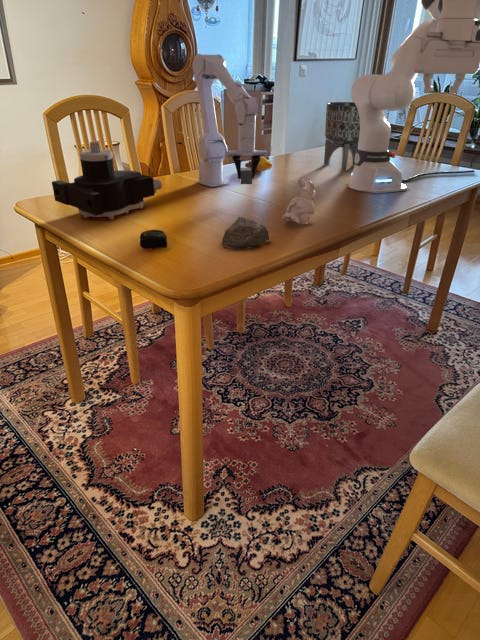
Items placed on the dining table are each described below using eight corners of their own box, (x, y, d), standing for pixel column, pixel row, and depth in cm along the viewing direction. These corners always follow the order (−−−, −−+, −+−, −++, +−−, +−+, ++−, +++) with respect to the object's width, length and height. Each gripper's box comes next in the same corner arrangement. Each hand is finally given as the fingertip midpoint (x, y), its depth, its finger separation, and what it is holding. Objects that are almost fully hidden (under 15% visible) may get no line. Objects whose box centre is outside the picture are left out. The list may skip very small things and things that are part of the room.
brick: (240, 184, 160) (240, 170, 158) (239, 181, 164) (239, 167, 161) (252, 184, 160) (252, 170, 158) (250, 181, 164) (250, 167, 162)
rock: (255, 233, 128) (256, 211, 124) (276, 242, 122) (278, 219, 119) (217, 244, 120) (217, 220, 117) (239, 254, 115) (239, 230, 111)
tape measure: (140, 252, 115) (139, 238, 113) (141, 242, 120) (140, 229, 119) (167, 251, 116) (166, 237, 114) (167, 241, 121) (166, 228, 120)
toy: (243, 164, 194) (247, 156, 207) (248, 178, 197) (252, 170, 210) (268, 155, 191) (270, 148, 204) (272, 170, 194) (275, 162, 206)
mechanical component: (44, 141, 131) (128, 131, 151) (57, 212, 142) (134, 194, 162) (86, 151, 119) (172, 139, 139) (97, 228, 130) (175, 206, 150)
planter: (313, 167, 208) (319, 103, 195) (331, 160, 222) (338, 101, 209) (353, 173, 199) (362, 107, 185) (369, 166, 213) (379, 104, 199)
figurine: (321, 218, 142) (325, 177, 135) (298, 231, 131) (302, 187, 125) (298, 213, 146) (301, 173, 139) (274, 225, 135) (277, 182, 128)
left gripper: (227, 139, 150) (227, 181, 157) (269, 139, 152) (267, 180, 159) (224, 136, 156) (224, 176, 163) (265, 135, 158) (263, 175, 165)
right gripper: (433, 31, 110) (420, 94, 117) (491, 34, 118) (476, 93, 125) (414, 31, 115) (403, 92, 122) (471, 35, 123) (458, 92, 130)
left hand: (245, 178), depth 161 cm, fingers closed on brick, 4 cm apart
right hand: (440, 93), depth 124 cm, fingers open, 8 cm apart
